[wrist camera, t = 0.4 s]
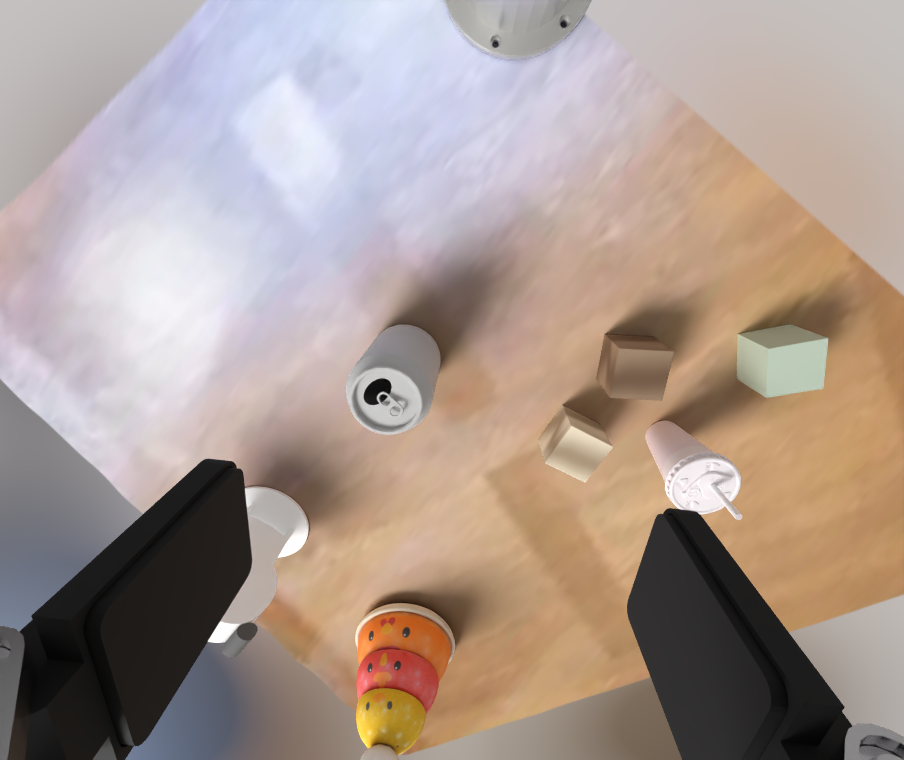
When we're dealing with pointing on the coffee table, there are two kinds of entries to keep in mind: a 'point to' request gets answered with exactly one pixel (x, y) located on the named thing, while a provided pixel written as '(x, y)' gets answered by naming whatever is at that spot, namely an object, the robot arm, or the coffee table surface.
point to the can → (394, 380)
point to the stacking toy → (398, 675)
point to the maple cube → (574, 444)
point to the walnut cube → (634, 367)
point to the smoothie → (693, 470)
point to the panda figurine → (261, 563)
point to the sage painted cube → (781, 360)
